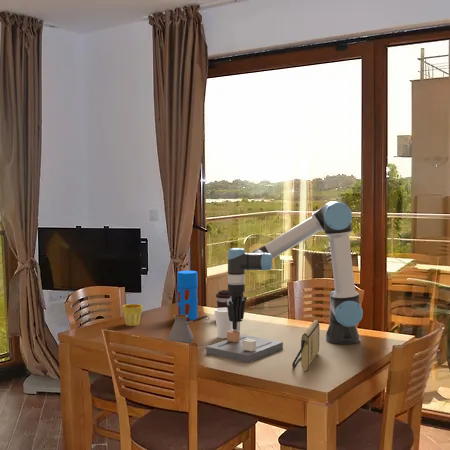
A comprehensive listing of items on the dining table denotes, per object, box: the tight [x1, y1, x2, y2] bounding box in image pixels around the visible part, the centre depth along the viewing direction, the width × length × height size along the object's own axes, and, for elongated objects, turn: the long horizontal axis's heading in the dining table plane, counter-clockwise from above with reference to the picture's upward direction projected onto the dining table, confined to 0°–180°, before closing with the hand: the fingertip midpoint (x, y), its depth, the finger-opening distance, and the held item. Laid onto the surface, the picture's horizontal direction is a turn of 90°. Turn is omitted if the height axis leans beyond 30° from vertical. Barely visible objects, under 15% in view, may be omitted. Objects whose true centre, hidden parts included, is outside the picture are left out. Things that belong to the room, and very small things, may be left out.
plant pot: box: [121, 303, 144, 327], centre depth 315 cm, size 10×10×10 cm
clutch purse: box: [291, 318, 320, 372], centre depth 250 cm, size 30×7×15 cm, turn 162°
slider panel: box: [205, 334, 284, 364], centre depth 266 cm, size 22×26×3 cm
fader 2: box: [242, 339, 256, 351], centre depth 256 cm, size 5×3×4 cm, turn 52°
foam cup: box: [214, 308, 233, 339], centre depth 290 cm, size 10×9×13 cm
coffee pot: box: [167, 314, 210, 344], centre depth 274 cm, size 21×12×15 cm, turn 54°
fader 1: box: [226, 330, 241, 342], centre depth 270 cm, size 5×3×4 cm, turn 52°
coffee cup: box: [215, 289, 230, 309], centre depth 328 cm, size 10×10×15 cm
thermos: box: [176, 270, 199, 321], centre depth 329 cm, size 11×11×25 cm
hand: (236, 336), depth 272 cm, fingers closed
